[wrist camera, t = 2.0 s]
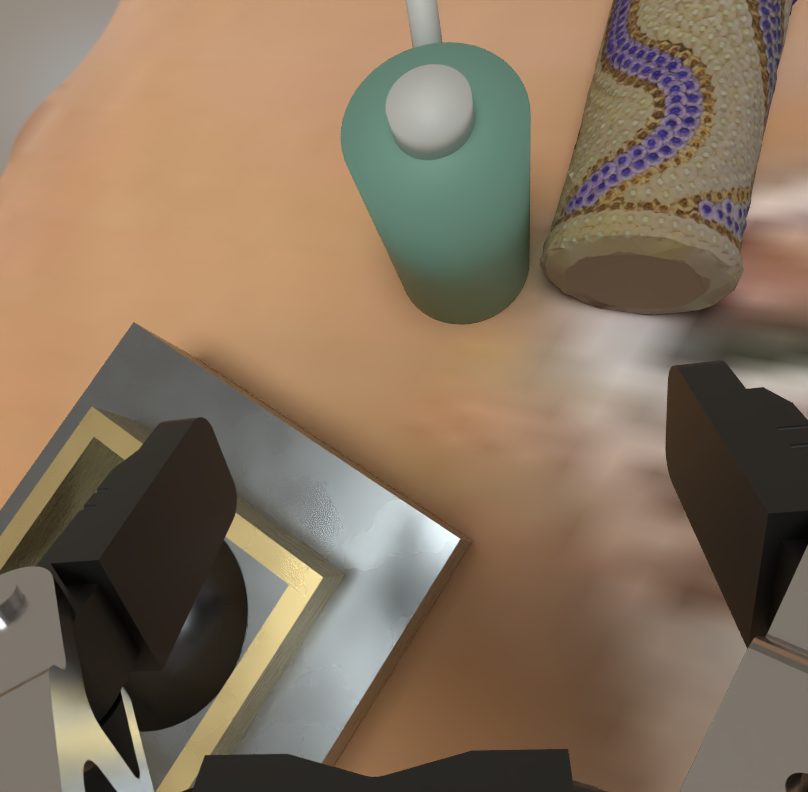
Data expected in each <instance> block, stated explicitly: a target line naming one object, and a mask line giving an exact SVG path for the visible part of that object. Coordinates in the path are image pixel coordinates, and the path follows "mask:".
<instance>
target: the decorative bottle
mask: <svg viewBox="0 0 808 792" xmlns="http://www.w3.org/2000/svg"><path fill="white" fill-rule="evenodd" d="M796 1H797V0H613V4H612V7H611V10H610V13H609V17H608V21H607V25H606V29H605V33H604V37H603V41H602V44H601V48H600V51H599V55H598V59H597V62H596V69H595V73H594V77H593V80H592V83H591V86H590V89H589V92H588V96H587V102H586V106H585V109H584V114H583V119H582V124H581V128H580V131H579V134H578V138H577V142H576V144H575V148H574V152H573V156H572V159H571V163H570V167H569V171H568V172H567V177H566V181H565V185H564V188H563V191H562V194H561V198H560V201H559V204H558V208H557V211H556V216H555V218H554V220H553V223H552V228H551V232H550V234H549V236H548V237H547V239H546V241H545V243H544V247H543V255H542V257H541V258H540V265H541V268H542V270H543V271H544V273H545V274H546V276H547V277H548V278H549V279H550V280H551V281H552V283H553V284H554V285H555V286H556V287H559V288H560V290H561V291H562V292H563V293H564V294H568V295H571V296H573V297H575V298H577V299H578V300H580V301H582V302H585V303H588V304H591V305H593V306H596V307H599V308H606V309H612V310H618V311H625V312H633V313H641V314H664V313H676V312H688V311H694V310H701V309H704V308H707V307H710V306H713V305H714V304H716V303H717V302H718V301H720V300H721V299H722V298H724V297H725V296H727V295H728V294H730V293H731V292H732V291H734V290H735V288H736V286H737V284H738V282H739V280H740V278H741V275H742V272H743V263H742V258H741V254H740V251H741V245H742V238H743V233H744V230H745V228H746V217H747V214H748V211H749V208H750V203H751V194H752V188H753V183H754V178H755V173H756V168H757V163H758V160H759V155H760V151H761V146H762V140H763V136H764V131H765V127H766V123H767V118H768V113H769V109H770V104H771V101H772V97H773V94H774V90H775V85H776V80H777V69H778V65H779V62H780V59H781V55H782V51H783V47H784V43H785V36H786V31H787V27H788V21H789V16H790V14H791V10H792V5H793V4H794V3H795V2H796Z"/></svg>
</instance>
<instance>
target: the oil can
mask: <svg viewBox="0 0 808 792" xmlns="http://www.w3.org/2000/svg"><path fill="white" fill-rule="evenodd" d="M406 6H407V13H408V19H409V26H410V33H411V39H412V46H413V48H412V49H409V50H407V51H404V52H402V53H400V54H398V55H396V56H394V57H392V58H390V59H389V60H387V61H386V62H384V63H383V64H381V65H380V66H379V67H377V68H376V69H375V70H374V71H372V72H371V73H370V74H369V75H368V76H367V77H366V78H365V79H364V81H363V82H362V83H361V84H360V86H359V87H358V88H357V90H356V91H355V93H354V94H353V96H352V98H351V99H350V102H349V104H348V106H347V108H346V111H345V114H344V117H343V122H342V127H341V146H342V152H343V156H344V160H345V162H346V165H347V167H348V169H349V171H350V173H351V175H352V178H353V180H354V182H355V184H356V186H357V188H358V190H359V192H360V195H361V197H362V199H363V201H364V203H365V205H366V207H367V210H368V212H369V214H370V216H371V218H372V220H373V222H374V224H375V227H376V229H377V231H378V233H379V235H380V237H381V239H382V242H383V244H384V246H385V248H386V250H387V252H388V254H389V256H390V259H391V261H392V263H393V265H394V267H395V269H396V271H397V274H398V276H399V278H400V280H401V282H402V284H403V286H404V288H405V291H406V293H407V295H408V296H409V298H410V299H411V301H412V302H413V303H414V304H415V306H416V307H417V308H419V309H420V310H421V311H422V312H423V313H425V314H426V315H428V316H430V317H432V318H434V319H436V320H439V321H442V322H446V323H451V324H471V323H476V322H480V321H483V320H486V319H488V318H491V317H493V316H495V315H496V314H498V313H500V312H501V311H503V310H504V309H505V308H506V307H508V306H509V305H510V304H511V303H512V302H513V301H514V300H515V298H516V297H517V296H518V294H519V293H520V291H521V289H522V288H523V286H524V283H525V281H526V278H527V274H528V270H529V239H530V124H531V116H530V103H529V99H528V95H527V92H526V89H525V87H524V84H523V83H522V81H521V79H520V78H519V76H518V75H517V73H516V72H515V71H514V70H513V69H512V67H511V66H509V65H508V64H507V63H506V62H505V61H504V60H503V59H501V58H500V57H498V56H497V55H495V54H493V53H491V52H489V51H487V50H485V49H482V48H479V47H476V46H473V45H468V44H463V43H452V42H446V43H442V36H441V29H440V21H439V13H438V5H437V0H406Z"/></svg>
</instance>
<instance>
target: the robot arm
mask: <svg viewBox="0 0 808 792" xmlns="http://www.w3.org/2000/svg"><path fill="white" fill-rule="evenodd" d="M666 459H667V466H668V471H669V475H670V478H671V481H672V484H673V486H674V488H675V490H676V493H677V495H678V497H679V499H680V501H681V504H682V506H683V508H684V510H685V512H686V515H687V517H688V519H689V521H690V523H691V526H692V528H693V530H694V532H695V534H696V537H697V539H698V541H699V543H700V545H701V548H702V550H703V552H704V554H705V556H706V559H707V561H708V563H709V565H710V567H711V570H712V572H713V574H714V576H715V578H716V581H717V583H718V585H719V587H720V589H721V592H722V594H723V596H724V598H725V600H726V603H727V605H728V607H729V609H730V611H731V614H732V616H733V618H734V620H735V622H736V625H737V627H738V629H739V631H740V633H741V636H742V638H743V640H744V642H745V644H746V647H747V651H746V653H745V655H744V657H743V659H742V662H741V664H740V666H739V668H738V670H737V672H736V674H735V676H734V678H733V681H732V683H731V685H730V687H729V689H728V691H727V693H726V695H725V697H724V699H723V702H722V704H721V706H720V708H719V710H718V712H717V714H716V716H715V718H714V721H713V723H712V725H711V727H710V729H709V731H708V733H707V735H706V737H705V740H704V742H703V744H702V746H701V748H700V750H699V752H698V754H697V756H696V759H695V761H694V763H693V765H692V767H691V769H690V771H689V773H688V775H687V777H686V780H685V782H684V784H683V786H682V788H681V790H680V792H808V420H807V419H806V418H805V417H804V415H803V414H802V413H801V412H800V411H799V410H798V408H797V407H796V406H795V405H794V404H793V403H791V402H790V401H788V400H786V399H784V398H782V397H780V396H778V395H777V394H775V393H773V392H771V391H769V390H767V389H765V388H764V387H761V388H751V389H746V388H745V387H744V386H743V384H742V383H741V382H740V380H739V379H738V378H737V377H736V375H735V374H734V373H733V371H732V370H731V369H730V368H729V366H728V365H727V364H726V363H725V362H724V361H712V362H703V363H694V364H685V365H676V366H672V367H671V369H670V372H669V377H668V395H667V421H666ZM236 508H237V493H236V487H235V484H234V481H233V478H232V476H231V473H230V471H229V468H228V466H227V463H226V461H225V458H224V456H223V453H222V451H221V448H220V445H219V443H218V440H217V438H216V435H215V433H214V430H213V428H212V426H211V424H210V423H209V421H208V420H207V419H205V418H203V417H197V418H188V419H179V420H170V421H163V422H161V423H159V424H158V425H157V426H156V428H155V429H154V430H153V432H152V433H151V434H150V435H149V437H148V438H147V439H146V441H145V442H144V443H143V444H142V446H141V447H140V448H139V450H138V451H136V452H135V453H133V454H132V455H131V456H129V457H128V458H127V459H125V460H124V461H123V462H121V463H120V464H119V465H117V466H116V467H115V468H114V469H112V471H111V472H110V473H109V474H108V476H107V477H106V478H105V479H104V481H103V482H102V483H101V484H100V486H99V487H98V488H97V493H93V494H92V496H91V497H90V498H89V499H88V501H87V502H86V503H85V504H84V510H80V511H79V512H78V513H77V514H76V516H75V517H74V518H73V519H72V521H71V522H70V523H69V525H68V526H67V527H66V528H65V530H64V531H63V532H62V533H61V535H60V536H59V537H58V538H57V540H56V541H55V542H54V543H53V545H52V546H51V547H50V548H49V550H48V551H47V552H46V553H45V555H44V556H43V557H42V558H41V560H40V561H39V562H38V563H37V565H36V566H31V567H23V568H19V569H15V570H12V571H9V572H6V573H4V574H1V575H0V792H154V789H153V785H152V781H151V778H150V774H149V770H148V766H147V762H146V758H145V754H144V750H143V746H142V742H141V738H140V734H139V730H138V726H137V722H136V718H135V714H134V710H133V706H132V702H131V699H130V697H129V694H128V693H127V691H126V690H125V688H124V687H123V685H124V683H125V681H126V679H127V678H128V676H129V674H130V672H143V671H162V670H163V668H164V666H165V664H166V662H167V660H168V657H169V655H170V653H171V651H172V649H173V647H174V645H175V643H176V640H177V638H178V636H179V634H180V632H181V630H182V628H183V626H184V623H185V621H186V619H187V617H188V615H189V613H190V611H191V609H192V606H193V604H194V602H195V600H196V598H197V596H198V594H199V592H200V589H201V587H202V585H203V583H204V581H205V579H206V577H207V575H208V572H209V570H210V568H211V566H212V564H213V562H214V560H215V558H216V555H217V553H218V551H219V549H220V547H221V545H222V543H223V541H224V538H225V536H226V534H227V532H228V530H229V528H230V526H231V524H232V521H233V519H234V517H235V514H236ZM182 792H607V791H604V790H602V789H599V788H597V787H594V786H591V785H588V784H584V783H580V782H577V781H573V780H572V774H571V767H570V760H569V753H568V749H547V750H485V751H469V752H466V753H462V754H459V755H455V756H452V757H448V758H445V759H441V760H438V761H434V762H431V763H427V764H424V765H420V766H417V767H413V768H410V769H406V770H403V771H399V772H396V773H392V774H389V775H385V776H380V777H369V776H364V775H360V774H357V773H353V772H350V771H346V770H343V769H339V768H336V767H332V766H329V765H325V764H322V763H318V762H315V761H311V760H308V759H304V758H301V757H297V756H294V755H290V754H239V755H205V756H204V759H203V762H202V764H201V767H200V770H199V773H198V776H197V778H196V781H195V784H194V787H193V788H190V789H187V790H184V791H182Z"/></svg>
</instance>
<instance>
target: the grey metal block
mask: <svg viewBox="0 0 808 792" xmlns="http://www.w3.org/2000/svg"><path fill="white" fill-rule="evenodd" d="M197 417H203V418H205V419H207V420H208V421H209V423H210V424H211V426H212V428H213V430H214V433H215V435H216V438H217V440H218V443H219V445H220V448H221V451H222V453H223V456H224V458H225V461H226V463H227V466H228V468H229V471H230V473H231V476H232V478H233V481H234V484H235V487H236V493H237V508H236V514H235V517H234V519H233V521H232V524H231V526H230V528H229V530H228V532H227V534H226V536H225V538H224V541H223V543H222V545H221V547H220V549H219V551H218V553H217V555H216V558H215V560H214V562H213V564H212V566H211V568H210V570H209V572H208V575H207V577H206V579H205V581H204V583H203V585H202V587H201V589H200V592H199V594H198V596H197V598H196V600H195V602H194V604H193V606H192V609H191V611H190V613H189V615H188V617H187V619H186V621H185V623H184V626H183V628H182V630H181V632H180V634H179V636H178V638H177V640H176V643H175V645H174V647H173V649H172V651H171V653H170V655H169V657H168V660H167V662H166V664H165V666H164V668H163V670H162V671H143V672H130V674H129V676H128V678H127V679H126V681H125V683H124V685H123V687H124V688H125V690H126V691H127V693H128V694H129V697H130V699H131V702H132V706H133V710H134V714H135V718H136V722H137V726H138V730H139V734H140V738H141V742H142V746H143V750H144V754H145V758H146V762H147V766H148V770H149V774H150V778H151V781H152V785H153V789H154V792H182V791H184V790H187V789H190V788H193V787H194V784H195V781H196V778H197V776H198V773H199V770H200V767H201V764H202V762H203V759H204V756H205V755H239V754H290V755H294V756H297V757H301V758H304V759H308V760H311V761H315V762H318V763H322V764H325V765H329V766H332V767H334V765H335V763H336V762H337V760H338V759H339V757H340V755H341V754H342V752H343V750H344V749H345V747H346V746H347V744H348V742H349V741H350V739H351V737H352V736H353V734H354V733H355V731H356V729H357V728H358V726H359V724H360V723H361V721H362V720H363V718H364V716H365V715H366V713H367V711H368V710H369V708H370V707H371V705H372V703H373V702H374V700H375V698H376V697H377V695H378V694H379V692H380V690H381V689H382V687H383V685H384V684H385V682H386V681H387V679H388V677H389V676H390V674H391V672H392V671H393V669H394V668H395V666H396V664H397V663H398V661H399V659H400V658H401V656H402V655H403V653H404V651H405V650H406V648H407V646H408V645H409V643H410V642H411V640H412V638H413V637H414V635H415V633H416V632H417V630H418V629H419V627H420V625H421V624H422V622H423V620H424V619H425V617H426V616H427V614H428V612H429V611H430V609H431V608H432V606H433V604H434V603H435V601H436V599H437V598H438V596H439V595H440V593H441V591H442V590H443V588H444V586H445V585H446V583H447V582H448V580H449V578H450V577H451V575H452V573H453V572H454V570H455V569H456V567H457V565H458V564H459V562H460V560H461V559H462V557H463V556H464V554H465V552H466V551H467V549H468V547H469V546H470V544H471V543H472V540H471V539H469V538H467V537H466V536H464V535H463V534H461V533H460V532H458V531H457V530H455V529H454V528H452V527H451V526H449V525H448V524H446V523H445V522H443V521H442V520H440V519H439V518H437V517H436V516H434V515H433V514H431V513H430V512H428V511H427V510H425V509H424V508H422V507H421V506H419V505H418V504H416V503H414V502H413V501H411V500H410V499H408V498H407V497H405V496H404V495H402V494H401V493H399V492H398V491H396V490H395V489H393V488H392V487H390V486H389V485H387V484H386V483H384V482H383V481H381V480H380V479H378V478H377V477H375V476H374V475H372V474H371V473H369V472H368V471H366V470H365V469H363V468H361V467H360V466H358V465H357V464H355V463H354V462H352V461H351V460H349V459H348V458H346V457H345V456H343V455H342V454H340V453H339V452H337V451H336V450H334V449H333V448H331V447H330V446H328V445H327V444H325V443H324V442H322V441H321V440H319V439H318V438H316V437H315V436H313V435H312V434H310V433H308V432H307V431H305V430H304V429H302V428H301V427H299V426H298V425H296V424H295V423H293V422H292V421H290V420H289V419H287V418H286V417H284V416H283V415H281V414H280V413H278V412H277V411H275V410H274V409H272V408H271V407H269V406H268V405H266V404H265V403H263V402H262V401H260V400H259V399H257V398H255V397H254V396H252V395H251V394H249V393H248V392H246V391H245V390H243V389H242V388H240V387H239V386H237V385H236V384H234V383H233V382H231V381H230V380H228V379H227V378H225V377H224V376H222V375H221V374H219V373H218V372H216V371H215V370H213V369H212V368H210V367H209V366H207V365H206V364H204V363H202V362H201V361H199V360H198V359H196V358H195V357H193V356H191V355H190V354H188V353H186V352H184V351H183V350H181V349H179V348H178V347H176V346H174V345H172V344H171V343H169V342H167V341H165V340H164V339H162V338H160V337H158V336H157V335H155V334H153V333H152V332H150V331H148V330H146V329H145V328H143V327H141V326H139V325H138V324H136V323H133V324H132V325H131V327H130V328H129V330H128V331H127V332H126V334H125V335H124V337H123V338H122V339H121V341H120V342H119V344H118V345H117V347H116V348H115V349H114V351H113V352H112V354H111V355H110V356H109V358H108V359H107V361H106V362H105V363H104V365H103V366H102V368H101V369H100V371H99V372H98V373H97V375H96V376H95V378H94V379H93V380H92V382H91V383H90V385H89V386H88V388H87V389H86V390H85V392H84V393H83V395H82V396H81V397H80V399H79V400H78V402H77V403H76V404H75V406H74V407H73V409H72V410H71V412H70V413H69V414H68V416H67V417H66V419H65V420H64V421H63V423H62V424H61V426H60V427H59V428H58V430H57V431H56V433H55V434H54V436H53V437H52V438H51V440H50V441H49V443H48V444H47V445H46V447H45V448H44V450H43V451H42V453H41V454H40V455H39V457H38V458H37V460H36V461H35V462H34V464H33V465H32V467H31V468H30V469H29V471H28V472H27V474H26V475H25V477H24V478H23V479H22V481H21V482H20V484H19V485H18V486H17V488H16V489H15V491H14V492H13V493H12V495H11V496H10V498H9V499H8V501H7V502H6V503H5V505H4V506H3V508H2V509H1V510H0V575H1V574H4V573H6V572H9V571H12V570H15V569H19V568H23V567H31V566H36V565H37V563H38V562H39V561H40V560H41V558H42V557H43V556H44V555H45V553H46V552H47V551H48V550H49V548H50V547H51V546H52V545H53V543H54V542H55V541H56V540H57V538H58V537H59V536H60V535H61V533H62V532H63V531H64V530H65V528H66V527H67V526H68V525H69V523H70V522H71V521H72V519H73V518H74V517H75V516H76V514H77V513H78V512H79V511H80V510H84V504H85V503H86V502H87V501H88V499H89V498H90V497H91V496H92V494H93V493H97V488H98V487H99V486H100V484H101V483H102V482H103V481H104V479H105V478H106V477H107V476H108V474H109V473H110V472H111V471H112V469H114V468H115V467H116V466H117V465H119V464H120V463H121V462H123V461H124V460H125V459H127V458H128V457H129V456H131V455H132V454H133V453H135V452H136V451H138V450H139V448H140V447H141V446H142V444H143V443H144V442H145V441H146V439H147V438H148V437H149V435H150V434H151V433H152V432H153V430H154V429H155V428H156V426H157V425H158V424H159V423H161V422H163V421H170V420H179V419H188V418H197Z"/></svg>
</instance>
